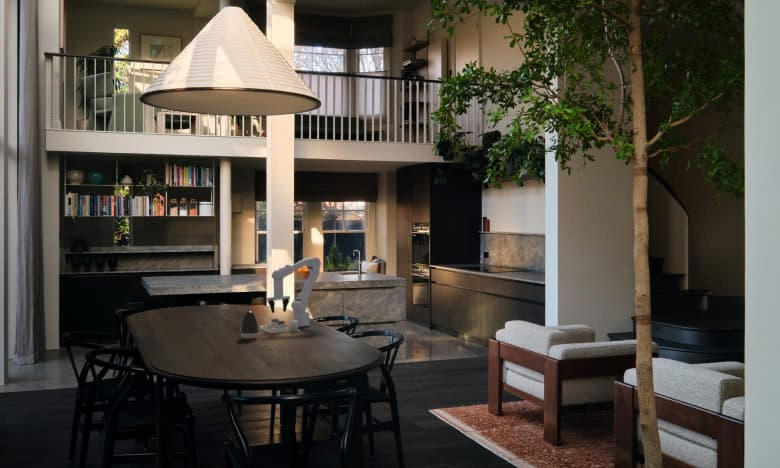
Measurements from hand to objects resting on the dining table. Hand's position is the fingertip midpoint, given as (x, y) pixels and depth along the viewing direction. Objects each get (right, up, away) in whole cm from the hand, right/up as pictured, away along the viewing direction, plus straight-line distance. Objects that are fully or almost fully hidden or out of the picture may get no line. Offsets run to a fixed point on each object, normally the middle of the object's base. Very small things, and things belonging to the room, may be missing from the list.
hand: (278, 312), depth 429 cm
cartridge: (+11, -10, -11) cm, 18 cm away
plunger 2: (+3, -7, -10) cm, 13 cm away
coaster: (+11, -10, -11) cm, 19 cm away
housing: (-2, -10, -7) cm, 12 cm away
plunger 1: (-2, -7, -1) cm, 8 cm away
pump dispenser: (-11, -11, -35) cm, 38 cm away
